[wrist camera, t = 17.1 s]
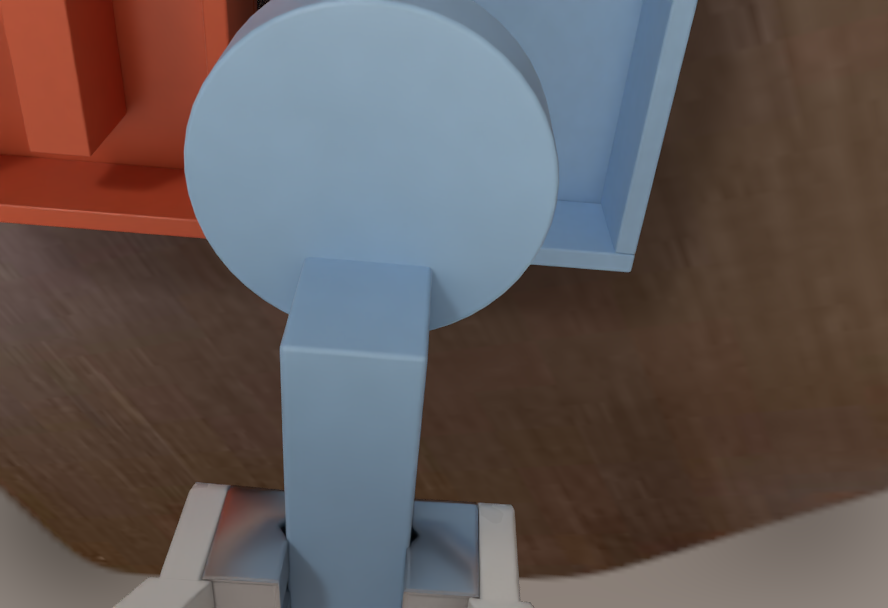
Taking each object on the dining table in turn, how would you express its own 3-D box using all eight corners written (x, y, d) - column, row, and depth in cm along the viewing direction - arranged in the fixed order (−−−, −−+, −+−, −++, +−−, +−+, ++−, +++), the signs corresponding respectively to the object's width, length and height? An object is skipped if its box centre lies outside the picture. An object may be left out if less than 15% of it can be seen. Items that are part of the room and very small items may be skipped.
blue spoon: (474, 587, 16) (477, 745, 14) (243, 572, 16) (204, 728, 14) (578, -13, 10) (618, 84, 7) (192, -50, 10) (101, 38, 7)
